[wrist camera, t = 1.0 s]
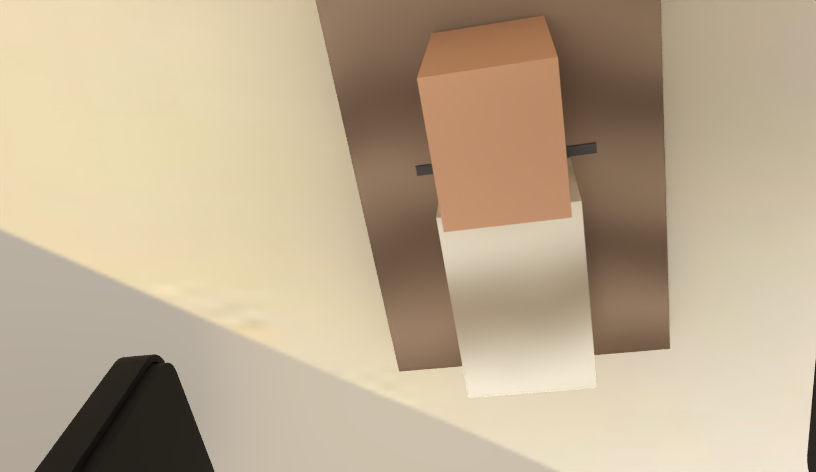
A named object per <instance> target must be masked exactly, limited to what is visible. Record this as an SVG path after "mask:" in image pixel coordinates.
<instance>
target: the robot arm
mask: <svg viewBox="0 0 816 472" xmlns="http://www.w3.org/2000/svg"><path fill="white" fill-rule="evenodd" d="M807 463H808V470H809V472H816V362H815V374H814V385H813V396H812V408H811V419H810V431H809V442H808V454H807ZM35 472H214V469H213V466H212V464H211V461H210V459H209V456H208V454H207V451H206V448H205V445H204V443H203V440H202V438H201V435H200V433H199V430H198V427H197V425H196V422H195V420H194V416H193V414H192V411H191V409H190V406H189V403H188V401H187V398H186V395H185V393H184V390H183V388H182V385H181V383H180V380H179V377H178V374H177V372H176V370H175V368H174V366H173V365H172V364H170V363H165V362H164V360H163V359H162V358H161V357H160V356H158V355H144V356H132V357H123V358H120V359H118V360H117V361H116V362H115V363H114V364H113V366H112V367H111V369H110V370H109V371H108V373H107V374H106V375H105V377H104V378H103V379H102V381H101V382H100V383H99V385H98V386H97V388H96V389H95V390H94V392H93V393H92V394H91V396H90V397H89V398H88V400H87V401H86V402H85V404H84V405H83V407H82V408H81V409H80V411H79V412H78V413H77V415H76V416H75V417H74V419H73V420H72V422H71V423H70V424H69V426H68V427H67V428H66V430H65V431H64V432H63V434H62V435H61V436H60V438H59V439H58V441H57V442H56V443H55V445H54V446H53V448H52V449H51V450H50V451H49V453H48V454H47V456H46V457H45V458H44V460H43V461H42V462H41V464H40V465H39V466H38V468H37V469H36V470H35Z"/></svg>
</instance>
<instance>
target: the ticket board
mask: <svg viewBox="0 0 816 472" xmlns="http://www.w3.org/2000/svg"><path fill="white" fill-rule="evenodd" d="M316 4H317V8H318V13H319V17H320V22H321V26H322V30H323V35H324V39H325V44H326V48H327V53H328V57H329V62H330V66H331V70H332V75H333V79H334V84H335V88H336V93H337V97H338V101H339V106H340V110H341V115H342V119H343V124H344V128H345V133H346V137H347V141H348V146H349V150H350V155H351V159H352V164H353V168H354V173H355V177H356V181H357V186H358V190H359V195H360V199H361V204H362V208H363V212H364V217H365V221H366V226H367V230H368V235H369V239H370V244H371V248H372V252H373V257H374V261H375V266H376V270H377V275H378V279H379V284H380V288H381V292H382V297H383V301H384V306H385V310H386V315H387V319H388V323H389V328H390V332H391V337H392V341H393V346H394V350H395V355H396V359H397V363H398V368H399V371H410V370H422V369H434V368H446V367H458V366H463V372H464V377H465V383H466V388H467V394H468V398H476V397H489V396H502V395H515V394H528V393H541V392H554V391H567V390H580V389H593V388H597V382H596V370H595V358H594V355H600V354H612V353H624V352H636V351H648V350H660V349H670V337H669V300H668V263H667V226H666V189H665V152H664V115H663V78H662V41H661V4H660V0H316ZM543 15H544V17H545V20H546V23H547V26H548V29H549V32H550V35H551V38H552V41H553V44H554V47H555V50H556V53H557V56H558V64H559V75H560V86H561V98H562V109H563V120H564V131H565V143H566V154H567V165H568V176H569V188H570V199H571V210H572V218H563V219H555V220H546V221H537V222H529V223H520V224H511V225H503V226H494V227H485V228H477V229H468V230H459V231H450V232H444V231H443V225H442V219H441V214H440V208H439V202H438V196H437V191H436V185H435V179H434V174H433V168H432V162H431V156H430V151H429V145H428V139H427V133H426V128H425V122H424V116H423V111H422V105H421V99H420V93H419V88H418V82H417V76H418V73H419V70H420V67H421V64H422V61H423V58H424V55H425V52H426V49H427V46H428V42H429V39H430V36H431V33H437V32H443V31H449V30H456V29H462V28H468V27H474V26H480V25H487V24H493V23H499V22H505V21H512V20H518V19H524V18H530V17H536V16H543Z"/></svg>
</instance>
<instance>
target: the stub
mask: <svg viewBox="0 0 816 472" xmlns="http://www.w3.org/2000/svg"><path fill="white" fill-rule="evenodd" d="M417 82H418V88H419V93H420V99H421V105H422V111H423V116H424V122H425V128H426V133H427V139H428V145H429V151H430V156H431V162H432V168H433V174H434V179H435V185H436V191H437V196H438V202H439V208H440V214H441V219H442V225H443V231H444V232H450V231H459V230H468V229H477V228H485V227H494V226H503V225H511V224H520V223H529V222H537V221H546V220H555V219H563V218H572V210H571V199H570V188H569V176H568V165H567V154H566V143H565V131H564V120H563V109H562V98H561V86H560V75H559V64H558V56H557V53H556V50H555V47H554V44H553V41H552V38H551V35H550V32H549V29H548V26H547V23H546V20H545V17H544V15H543V16H536V17H530V18H524V19H518V20H512V21H505V22H499V23H493V24H487V25H480V26H474V27H468V28H462V29H456V30H449V31H443V32H437V33H431V36H430V39H429V42H428V46H427V49H426V52H425V55H424V58H423V61H422V64H421V67H420V70H419V73H418V76H417Z"/></svg>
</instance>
